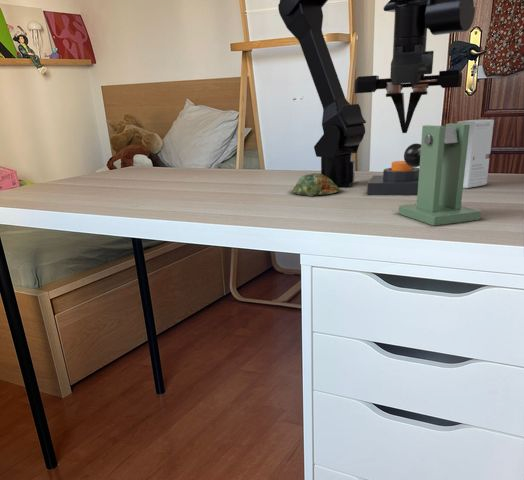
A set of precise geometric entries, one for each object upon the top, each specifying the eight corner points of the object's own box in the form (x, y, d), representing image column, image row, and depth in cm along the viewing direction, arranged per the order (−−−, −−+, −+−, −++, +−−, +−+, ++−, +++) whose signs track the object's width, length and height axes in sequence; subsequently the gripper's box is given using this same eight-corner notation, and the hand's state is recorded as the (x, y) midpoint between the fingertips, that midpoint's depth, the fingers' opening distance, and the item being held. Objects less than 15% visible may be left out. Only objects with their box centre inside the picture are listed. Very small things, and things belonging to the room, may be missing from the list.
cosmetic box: (468, 188, 103) (475, 121, 97) (449, 186, 106) (455, 121, 101) (488, 184, 106) (496, 119, 100) (469, 182, 109) (476, 118, 104)
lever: (401, 170, 87) (398, 148, 87) (420, 168, 88) (417, 146, 87) (441, 148, 76) (437, 122, 76) (462, 146, 77) (459, 121, 77)
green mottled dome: (343, 167, 109) (331, 174, 101) (344, 187, 111) (333, 196, 102) (296, 171, 113) (282, 178, 104) (298, 191, 114) (284, 200, 106)
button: (390, 173, 102) (391, 163, 102) (391, 170, 106) (392, 161, 105) (411, 172, 101) (412, 163, 101) (412, 169, 105) (413, 160, 104)
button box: (367, 194, 103) (368, 173, 101) (372, 186, 111) (373, 166, 109) (431, 194, 99) (433, 172, 98) (432, 185, 108) (433, 165, 106)
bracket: (398, 213, 86) (403, 125, 80) (440, 208, 88) (448, 122, 82) (433, 225, 77) (442, 128, 72) (479, 219, 79) (492, 124, 74)
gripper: (351, 39, 89) (349, 138, 96) (468, 29, 84) (457, 134, 91) (359, 44, 99) (357, 133, 106) (464, 35, 94) (455, 129, 101)
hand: (404, 132), depth 100 cm, fingers closed
